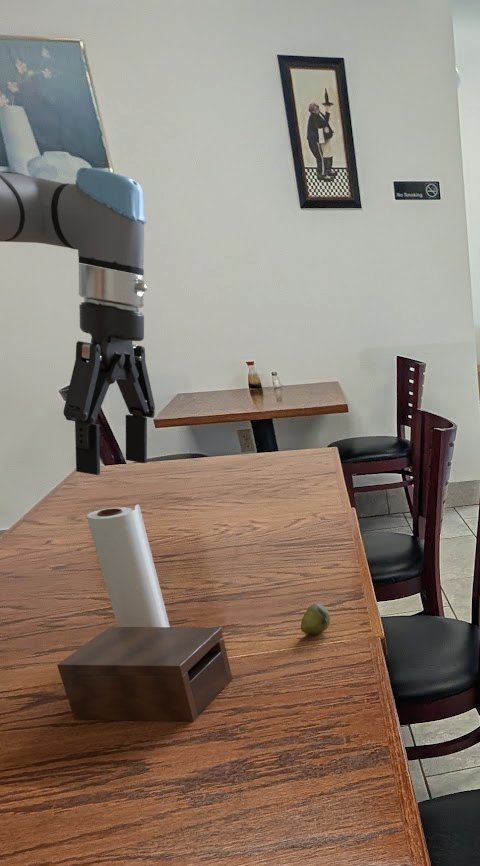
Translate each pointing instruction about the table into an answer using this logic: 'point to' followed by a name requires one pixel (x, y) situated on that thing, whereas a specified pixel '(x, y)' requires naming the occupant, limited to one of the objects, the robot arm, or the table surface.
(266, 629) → the table surface
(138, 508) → the paper towel roll
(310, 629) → the lime
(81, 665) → the drawer box
